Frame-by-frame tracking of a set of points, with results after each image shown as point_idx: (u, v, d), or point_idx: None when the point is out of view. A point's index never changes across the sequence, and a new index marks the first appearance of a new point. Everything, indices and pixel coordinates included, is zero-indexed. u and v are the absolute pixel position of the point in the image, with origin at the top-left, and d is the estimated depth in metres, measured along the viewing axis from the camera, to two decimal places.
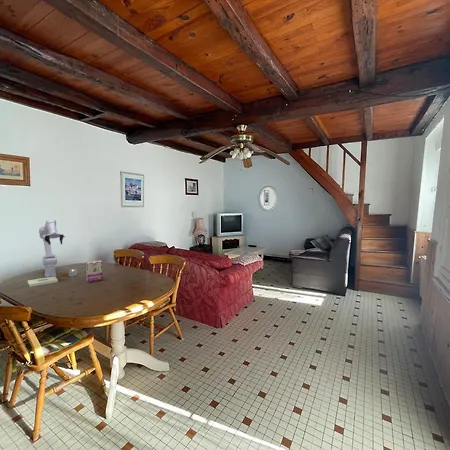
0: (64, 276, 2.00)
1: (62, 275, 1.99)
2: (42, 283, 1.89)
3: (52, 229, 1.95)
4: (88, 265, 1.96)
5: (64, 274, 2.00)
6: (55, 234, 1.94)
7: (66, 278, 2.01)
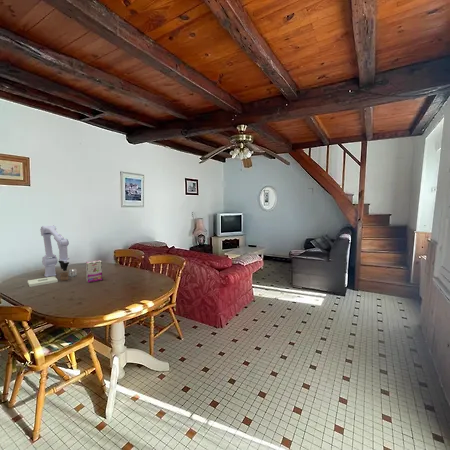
0: (64, 276, 2.00)
1: (62, 275, 1.99)
2: (42, 283, 1.89)
3: None
4: (88, 265, 1.96)
5: (64, 274, 2.00)
6: None
7: (66, 278, 2.01)
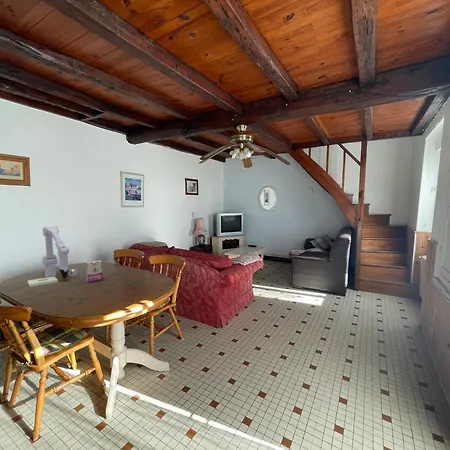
0: None
1: None
2: (42, 283, 1.89)
3: (67, 262, 2.02)
4: (88, 265, 1.96)
5: None
6: None
7: (66, 278, 2.01)
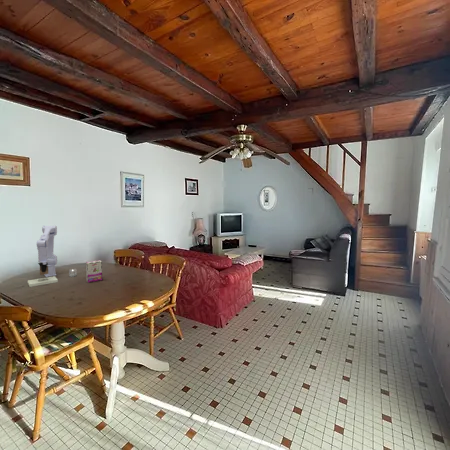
0: None
1: None
2: (42, 283, 1.89)
3: (47, 255, 1.94)
4: (88, 265, 1.96)
5: None
6: None
7: (46, 272, 1.94)
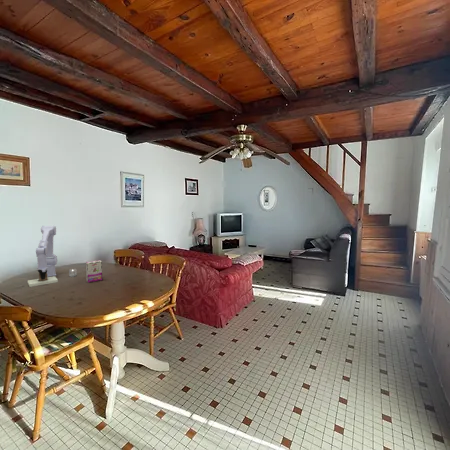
0: None
1: None
2: (42, 283, 1.89)
3: (46, 262, 1.94)
4: (88, 265, 1.96)
5: None
6: None
7: (45, 279, 1.94)
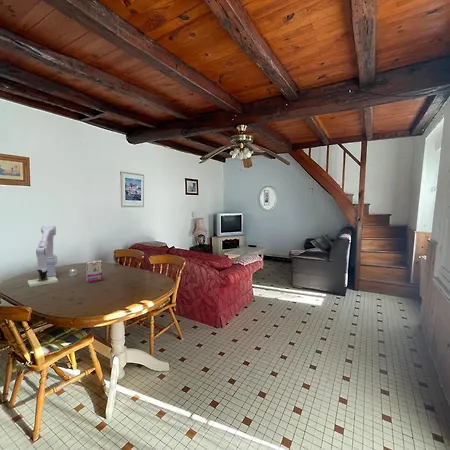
0: None
1: None
2: (42, 283, 1.89)
3: (46, 262, 1.94)
4: (88, 265, 1.96)
5: None
6: None
7: None
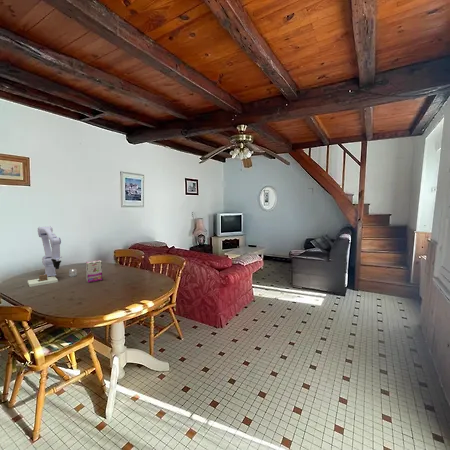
0: (43, 279, 1.93)
1: (41, 277, 1.92)
2: (42, 283, 1.89)
3: (59, 252, 2.03)
4: (88, 265, 1.96)
5: (43, 276, 1.93)
6: None
7: None
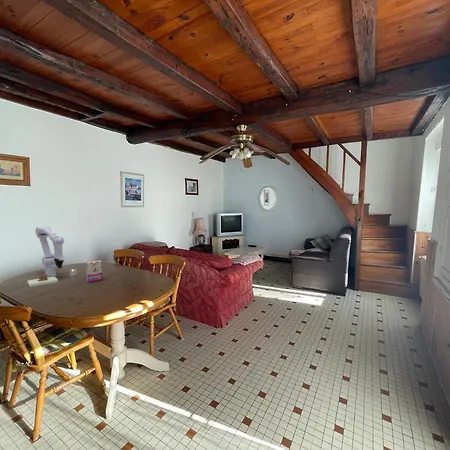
0: (43, 279, 1.93)
1: (41, 277, 1.92)
2: (42, 283, 1.89)
3: None
4: (88, 265, 1.96)
5: (43, 276, 1.93)
6: None
7: None
